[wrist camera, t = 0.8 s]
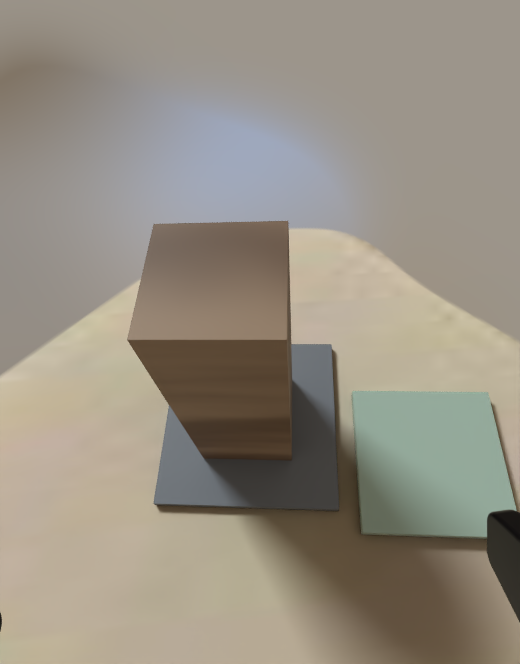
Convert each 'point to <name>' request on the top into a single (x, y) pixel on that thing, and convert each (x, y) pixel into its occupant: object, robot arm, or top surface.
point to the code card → (264, 475)
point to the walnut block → (220, 334)
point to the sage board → (428, 463)
